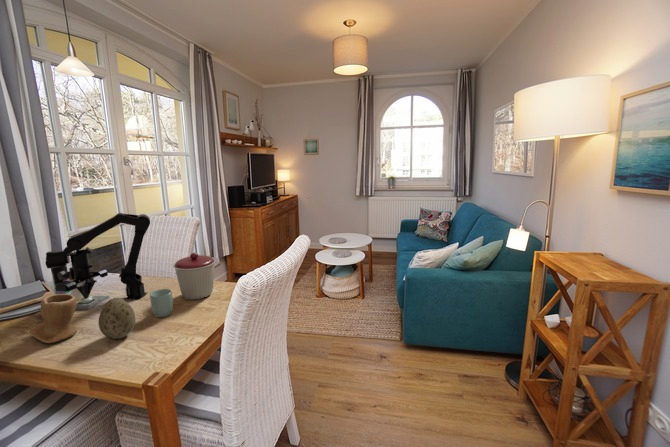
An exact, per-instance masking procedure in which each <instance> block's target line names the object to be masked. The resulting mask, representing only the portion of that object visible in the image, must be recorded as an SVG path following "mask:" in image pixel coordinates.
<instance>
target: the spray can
mask: <svg viewBox="0 0 670 447" xmlns="http://www.w3.org/2000/svg"><path fill="white" fill-rule="evenodd" d="M62 271H65V272H69V270H68V265H66V266H64V267H56V268H50V272H51V276H52V283H53V286H54V288H53V289H54V292H55V293H54V294H66V293H68V292H70V291H68V292H64V291H56V288H55V286H56V285H57V284H58V283H61V282H64V279H61V280H59V278H58V275H57V273H59V272H62ZM65 281H69V280H68V279H67V280H65Z"/></svg>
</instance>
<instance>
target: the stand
mask: <svg viewBox="0 0 670 447" xmlns="http://www.w3.org/2000/svg"><path fill="white" fill-rule="evenodd" d="M33 318H34V322H36V323H37V322H38V323H40V322H41V323H44V320H43V318H42V316H41V310H40V311H38V312H36V313H35V314H33Z"/></svg>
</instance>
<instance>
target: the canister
mask: <svg viewBox="0 0 670 447" xmlns="http://www.w3.org/2000/svg"><path fill="white" fill-rule="evenodd" d="M216 261H217V260H216V259H215V258H214V257H211V256H210V255H204V254H202V255H201V254H200V255H199V253H197V252H192V253H191V254H189V256H187V257H183V258H180V259H178V260H177V261H175V262H174V263H173V264H172V268H174V269H175V274H176V278H177V282H178V283H177V284H178V287H179V290H180V294H181V295H182V297H183V298H185V299H186V300H188V301H189V300H191V301H195V300H200V299H201V300H202V299H204V297H205V298H207V297H208V296H210V295H211V294H212V292H213V290H214V278H215V264H216Z"/></svg>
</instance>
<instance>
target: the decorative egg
mask: <svg viewBox="0 0 670 447" xmlns="http://www.w3.org/2000/svg"><path fill="white" fill-rule="evenodd" d="M136 319H137V318H136V313H135V310H134V309H133V307H132V306H131V304H130V303H129V302H127V300H126V299H125V300H124V299H123V298H120V297H113V298H110V299H109V300H108V301H107V302H106V303H105V304H104V306H103V307H102V308H101V310H100V312H99V316H98V328H99V331H100V332H101V334H102V335H104V337H106V338H108V339H111V340H112V339H113V340H119V339H122V338H124V337H126V336H127V335H129V334H130V333H131V332H132V330H133V329H134V327H135V325H136Z"/></svg>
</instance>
